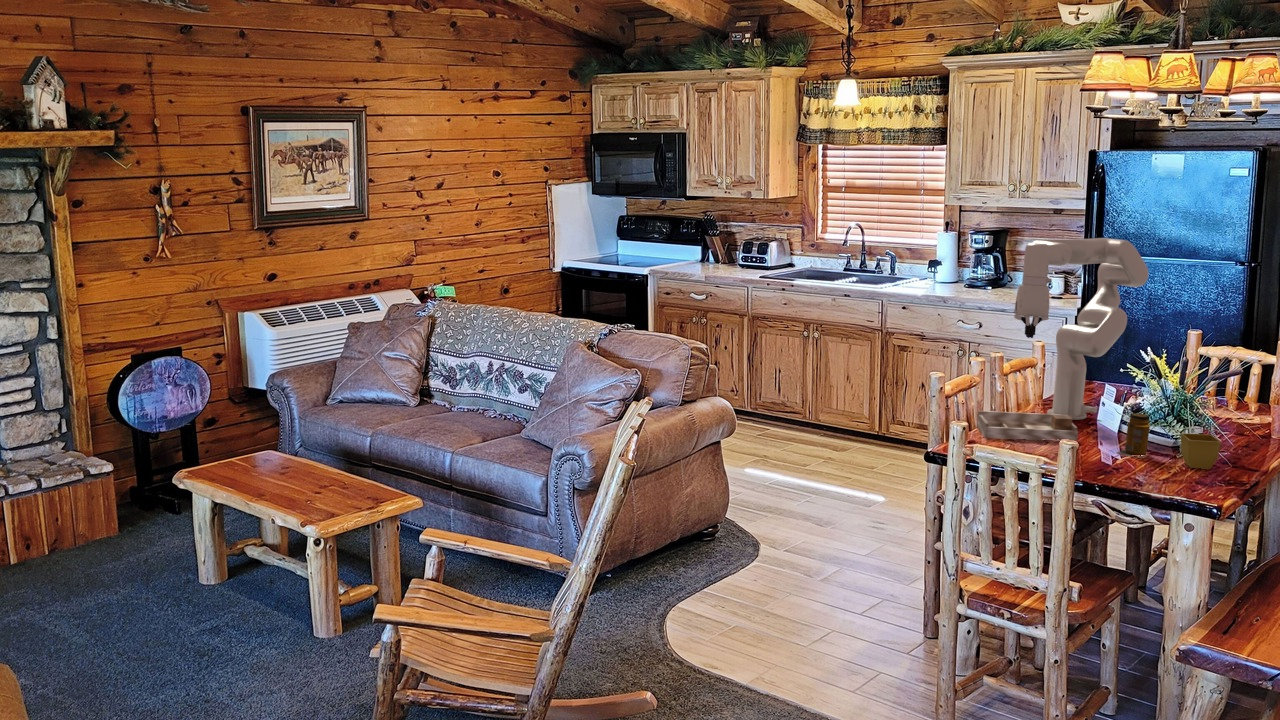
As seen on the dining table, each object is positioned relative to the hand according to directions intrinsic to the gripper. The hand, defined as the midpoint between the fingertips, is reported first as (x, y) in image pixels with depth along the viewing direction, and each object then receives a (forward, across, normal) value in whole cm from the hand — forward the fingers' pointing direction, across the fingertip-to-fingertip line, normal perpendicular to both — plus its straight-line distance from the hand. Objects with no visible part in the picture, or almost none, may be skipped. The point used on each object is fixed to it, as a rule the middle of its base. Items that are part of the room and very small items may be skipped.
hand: (1029, 337), depth 368 cm
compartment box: (+29, +2, +15) cm, 33 cm away
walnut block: (+27, -8, +16) cm, 32 cm away
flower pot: (+29, -40, +44) cm, 66 cm away
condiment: (+29, -26, +32) cm, 51 cm away
